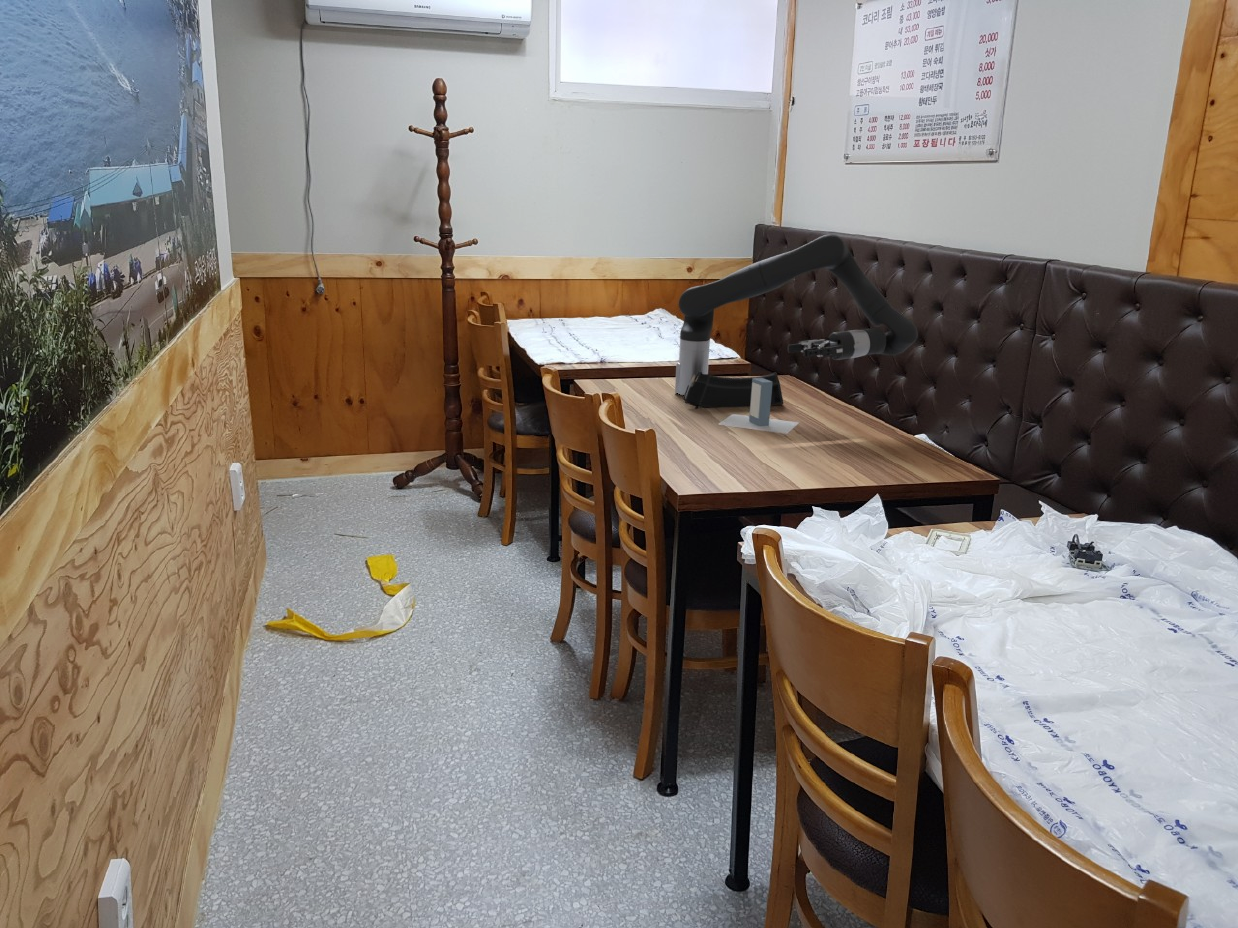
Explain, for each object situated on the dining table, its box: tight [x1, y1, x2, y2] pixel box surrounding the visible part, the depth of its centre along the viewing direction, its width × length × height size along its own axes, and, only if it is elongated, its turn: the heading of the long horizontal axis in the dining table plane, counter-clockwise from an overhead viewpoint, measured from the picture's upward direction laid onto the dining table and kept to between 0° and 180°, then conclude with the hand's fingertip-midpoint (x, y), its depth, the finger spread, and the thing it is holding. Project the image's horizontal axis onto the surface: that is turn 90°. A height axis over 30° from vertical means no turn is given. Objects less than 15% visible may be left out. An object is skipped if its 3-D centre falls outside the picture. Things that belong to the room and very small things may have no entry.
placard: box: [748, 378, 772, 426], centre depth 239 cm, size 3×6×12 cm, turn 21°
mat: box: [717, 413, 800, 435], centre depth 241 cm, size 19×14×1 cm
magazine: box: [682, 371, 784, 410], centre depth 260 cm, size 17×3×30 cm
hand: (795, 351), depth 238 cm, fingers open, 8 cm apart
